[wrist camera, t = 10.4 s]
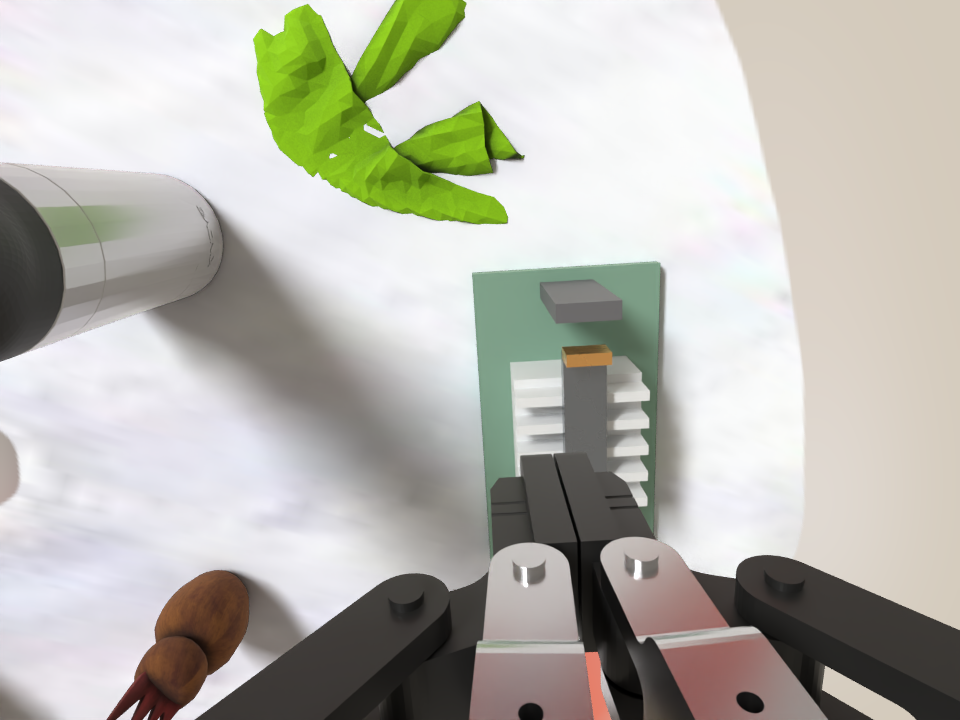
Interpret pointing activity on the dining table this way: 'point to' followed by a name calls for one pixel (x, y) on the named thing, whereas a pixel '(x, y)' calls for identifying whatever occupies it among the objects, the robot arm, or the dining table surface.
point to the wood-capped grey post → (585, 401)
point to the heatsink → (537, 364)
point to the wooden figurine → (188, 645)
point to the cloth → (342, 113)
